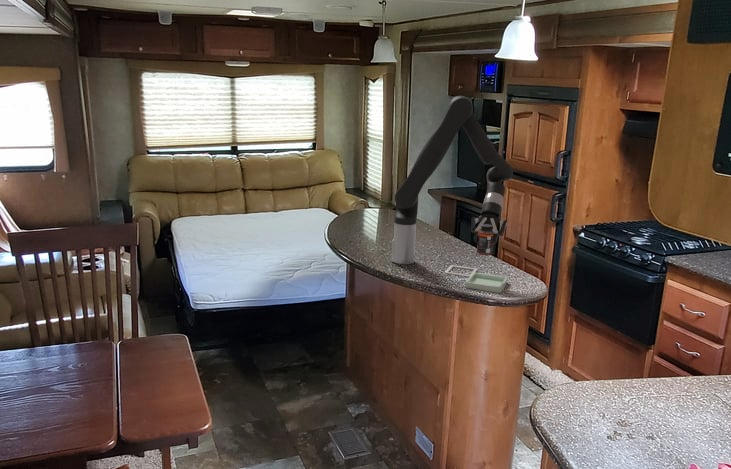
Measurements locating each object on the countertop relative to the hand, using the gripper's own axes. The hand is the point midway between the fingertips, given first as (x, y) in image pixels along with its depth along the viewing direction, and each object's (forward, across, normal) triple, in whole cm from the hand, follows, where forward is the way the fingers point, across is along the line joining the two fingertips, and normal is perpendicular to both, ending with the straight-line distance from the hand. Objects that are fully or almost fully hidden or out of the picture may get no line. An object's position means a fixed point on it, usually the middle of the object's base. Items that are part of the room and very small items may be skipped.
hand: (484, 242), depth 219 cm
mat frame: (+4, -10, +19) cm, 22 cm away
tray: (+13, +2, +10) cm, 17 cm away
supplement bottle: (+2, 0, +5) cm, 5 cm away
